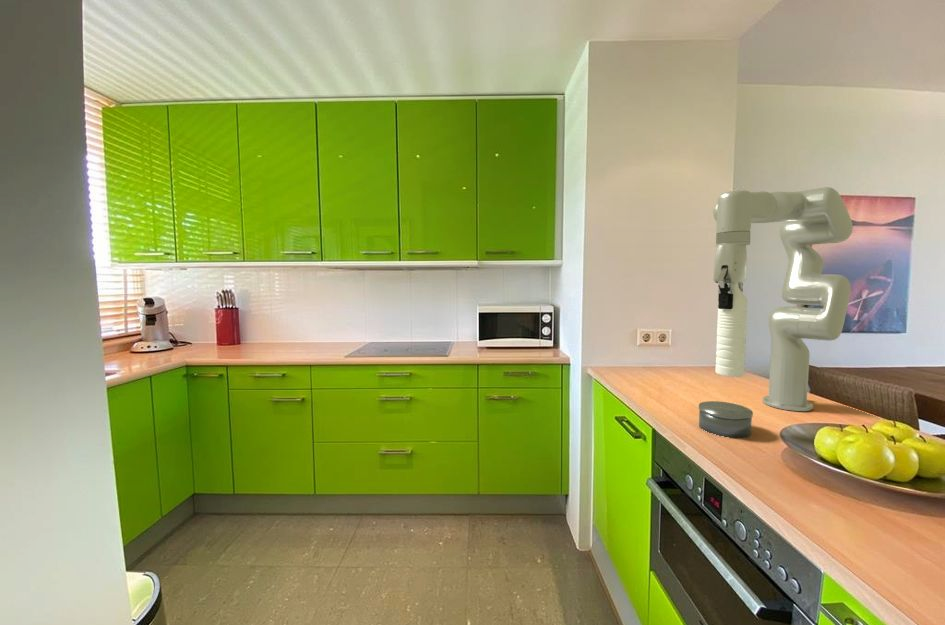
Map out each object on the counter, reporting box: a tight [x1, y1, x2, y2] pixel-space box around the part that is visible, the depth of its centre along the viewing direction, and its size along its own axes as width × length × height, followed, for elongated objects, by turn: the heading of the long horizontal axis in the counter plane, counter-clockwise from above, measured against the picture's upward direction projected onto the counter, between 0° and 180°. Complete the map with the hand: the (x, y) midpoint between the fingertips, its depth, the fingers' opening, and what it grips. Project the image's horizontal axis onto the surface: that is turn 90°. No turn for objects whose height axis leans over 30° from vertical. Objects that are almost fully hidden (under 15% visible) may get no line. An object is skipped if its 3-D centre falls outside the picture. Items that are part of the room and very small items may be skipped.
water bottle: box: [715, 283, 748, 378], centre depth 105 cm, size 9×6×25 cm
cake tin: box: [698, 400, 754, 439], centre depth 106 cm, size 12×12×6 cm
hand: (730, 307), depth 104 cm, fingers closed on water bottle, 6 cm apart
